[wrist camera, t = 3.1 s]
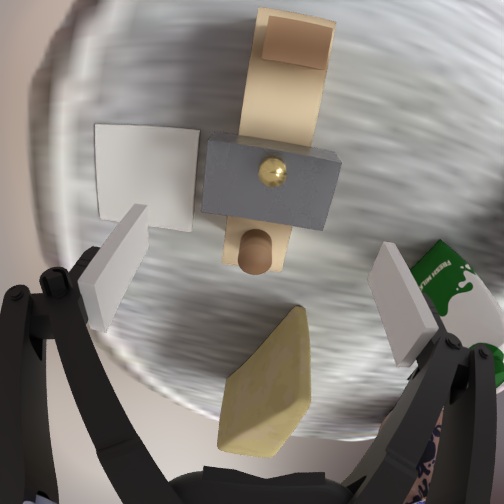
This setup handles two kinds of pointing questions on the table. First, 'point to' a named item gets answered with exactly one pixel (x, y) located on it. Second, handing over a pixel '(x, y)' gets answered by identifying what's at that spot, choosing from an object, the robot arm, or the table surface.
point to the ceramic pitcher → (423, 466)
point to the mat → (147, 172)
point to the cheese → (268, 392)
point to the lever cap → (269, 180)
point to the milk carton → (462, 302)
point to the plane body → (278, 116)
